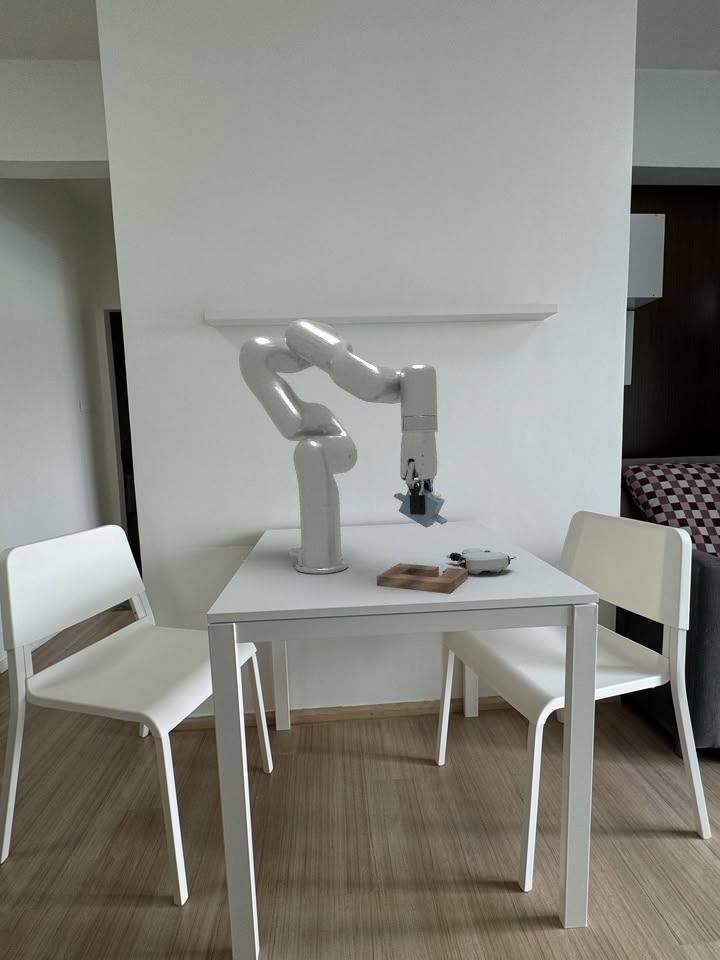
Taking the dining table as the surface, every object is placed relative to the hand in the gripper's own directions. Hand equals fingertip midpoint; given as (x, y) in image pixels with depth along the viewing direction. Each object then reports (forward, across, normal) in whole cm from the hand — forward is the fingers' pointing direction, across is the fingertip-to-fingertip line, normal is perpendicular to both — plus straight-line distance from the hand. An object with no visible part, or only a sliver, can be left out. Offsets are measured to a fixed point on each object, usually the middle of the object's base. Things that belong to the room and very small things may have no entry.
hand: (421, 511), depth 116 cm
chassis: (+15, 0, 0) cm, 15 cm away
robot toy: (+16, -15, +8) cm, 23 cm away
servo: (+1, 0, -1) cm, 2 cm away
